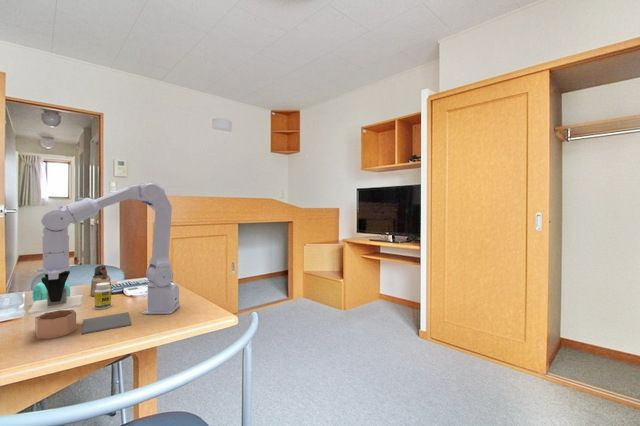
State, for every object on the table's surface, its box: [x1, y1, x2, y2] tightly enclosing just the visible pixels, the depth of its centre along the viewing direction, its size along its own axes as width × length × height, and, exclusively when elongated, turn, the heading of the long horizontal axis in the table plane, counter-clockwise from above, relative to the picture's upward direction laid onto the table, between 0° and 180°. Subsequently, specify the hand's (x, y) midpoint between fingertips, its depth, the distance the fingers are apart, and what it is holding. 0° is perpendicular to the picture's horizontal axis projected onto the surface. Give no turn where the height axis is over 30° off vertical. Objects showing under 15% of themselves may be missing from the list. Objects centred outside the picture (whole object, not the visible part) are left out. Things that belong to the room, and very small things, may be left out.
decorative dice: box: [32, 281, 71, 303], centre depth 112 cm, size 8×8×8 cm
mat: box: [81, 311, 132, 335], centre depth 96 cm, size 12×12×1 cm
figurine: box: [90, 264, 113, 298], centre depth 125 cm, size 7×7×12 cm
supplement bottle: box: [94, 283, 112, 310], centre depth 110 cm, size 5×5×8 cm
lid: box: [27, 288, 84, 316], centre depth 89 cm, size 11×11×4 cm
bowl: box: [34, 309, 77, 340], centre depth 89 cm, size 8×8×5 cm
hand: (56, 299), depth 89 cm, fingers closed on lid, 4 cm apart
